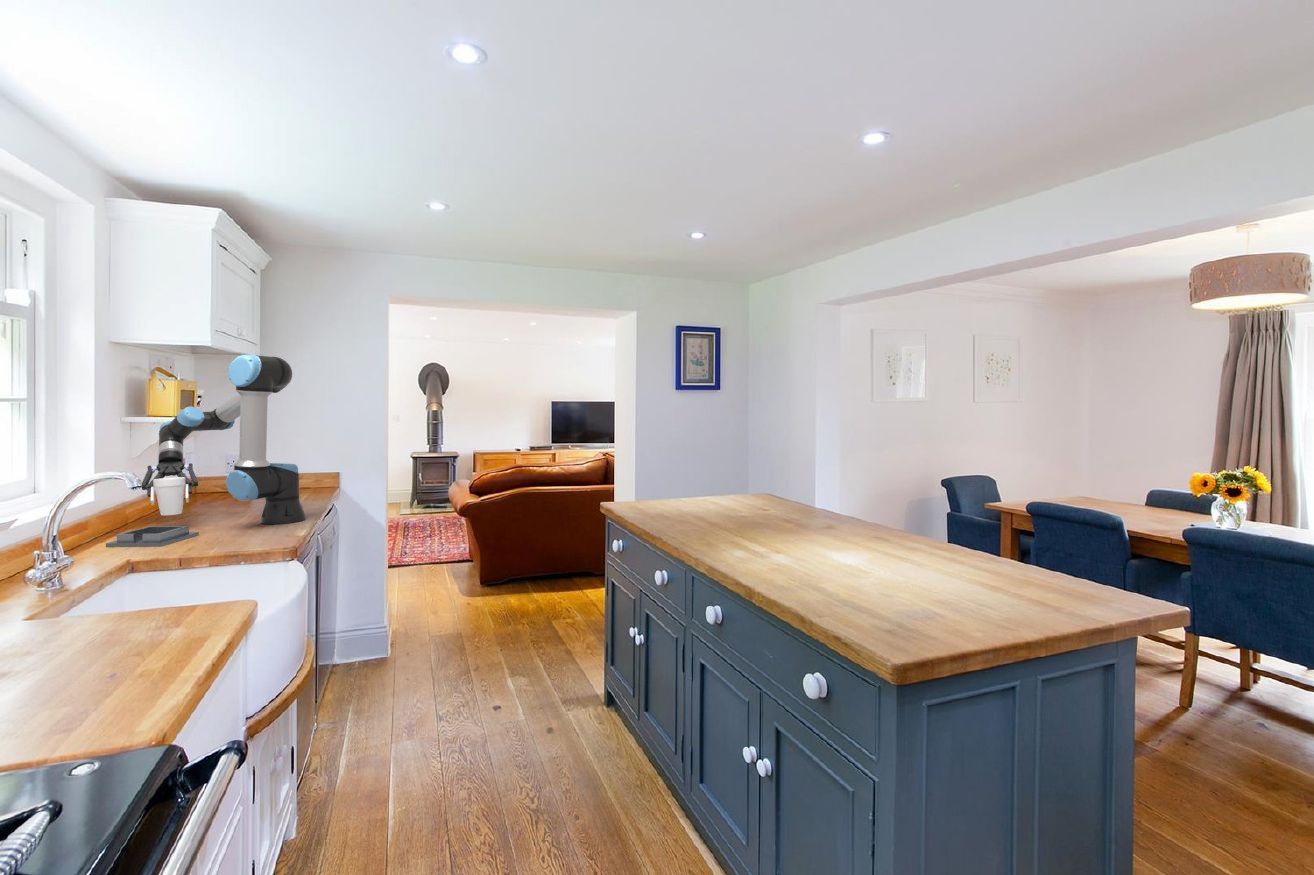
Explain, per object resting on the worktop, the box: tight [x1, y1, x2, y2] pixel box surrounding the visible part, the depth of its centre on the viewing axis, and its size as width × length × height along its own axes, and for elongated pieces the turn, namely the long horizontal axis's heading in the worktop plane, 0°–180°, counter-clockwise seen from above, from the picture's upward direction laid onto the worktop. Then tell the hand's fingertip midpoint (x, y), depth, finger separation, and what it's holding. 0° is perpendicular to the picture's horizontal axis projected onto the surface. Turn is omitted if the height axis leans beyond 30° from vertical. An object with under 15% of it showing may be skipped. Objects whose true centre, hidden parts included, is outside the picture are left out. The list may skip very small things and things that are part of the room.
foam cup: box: [152, 476, 186, 516], centre depth 239 cm, size 10×9×13 cm
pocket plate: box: [105, 525, 200, 548], centre depth 223 cm, size 18×18×4 cm
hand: (169, 501), depth 237 cm, fingers closed on foam cup, 9 cm apart
